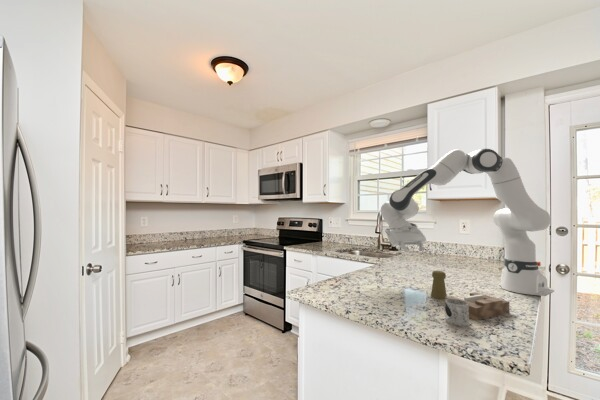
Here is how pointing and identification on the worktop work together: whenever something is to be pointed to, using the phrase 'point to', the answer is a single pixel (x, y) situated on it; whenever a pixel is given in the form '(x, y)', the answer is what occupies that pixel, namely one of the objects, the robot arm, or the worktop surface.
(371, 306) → the worktop surface
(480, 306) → the walnut dock
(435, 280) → the cork
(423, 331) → the worktop surface
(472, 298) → the latch tongue
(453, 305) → the mug
